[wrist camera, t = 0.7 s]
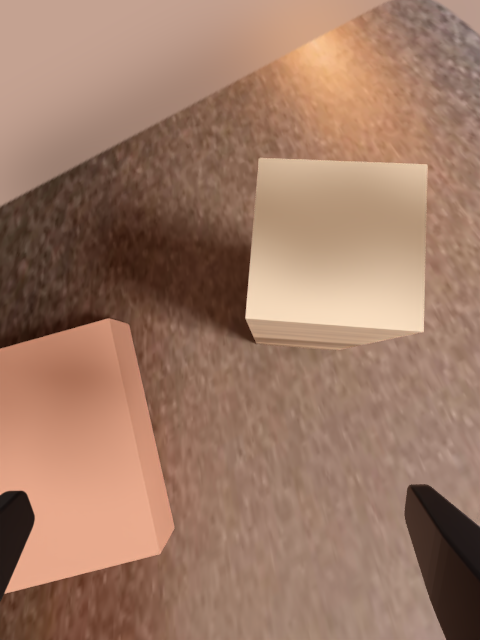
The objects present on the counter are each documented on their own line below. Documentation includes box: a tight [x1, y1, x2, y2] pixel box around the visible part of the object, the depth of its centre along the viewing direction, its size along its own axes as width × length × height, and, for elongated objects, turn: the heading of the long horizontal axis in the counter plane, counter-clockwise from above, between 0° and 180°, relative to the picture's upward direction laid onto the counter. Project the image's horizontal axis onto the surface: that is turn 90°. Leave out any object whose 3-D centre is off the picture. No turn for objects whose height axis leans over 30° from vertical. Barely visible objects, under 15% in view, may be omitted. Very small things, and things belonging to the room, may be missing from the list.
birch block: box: [245, 158, 427, 350], centre depth 17 cm, size 5×5×12 cm
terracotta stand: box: [0, 318, 175, 594], centre depth 21 cm, size 13×16×3 cm
